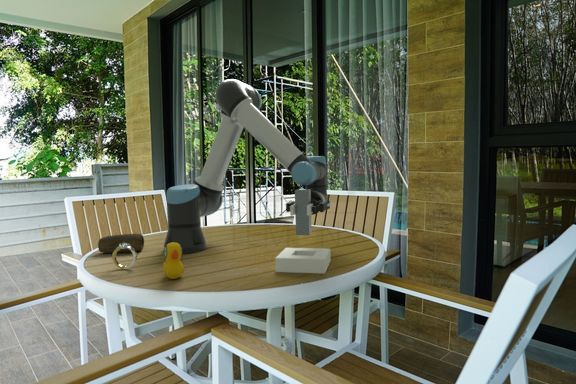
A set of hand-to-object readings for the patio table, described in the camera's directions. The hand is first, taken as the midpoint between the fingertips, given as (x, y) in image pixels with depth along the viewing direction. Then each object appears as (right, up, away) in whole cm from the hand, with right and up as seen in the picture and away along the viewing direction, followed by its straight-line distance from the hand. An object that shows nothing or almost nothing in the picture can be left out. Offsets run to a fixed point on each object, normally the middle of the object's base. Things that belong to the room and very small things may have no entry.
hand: (299, 210), depth 115 cm
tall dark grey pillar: (+1, -7, +6) cm, 9 cm away
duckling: (-35, -19, -2) cm, 39 cm away
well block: (+2, -17, +7) cm, 18 cm away
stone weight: (-63, -17, +33) cm, 73 cm away
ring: (-52, -18, +8) cm, 56 cm away
